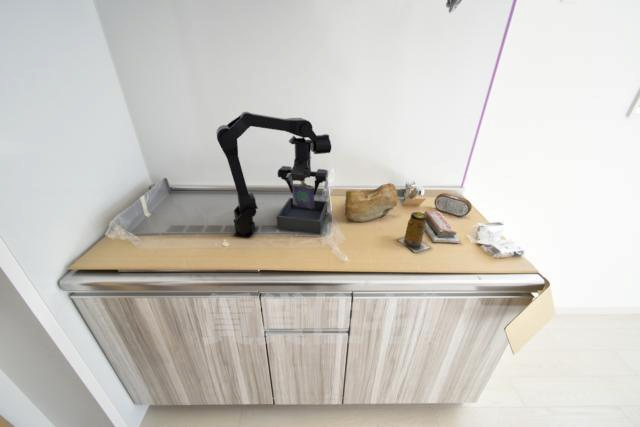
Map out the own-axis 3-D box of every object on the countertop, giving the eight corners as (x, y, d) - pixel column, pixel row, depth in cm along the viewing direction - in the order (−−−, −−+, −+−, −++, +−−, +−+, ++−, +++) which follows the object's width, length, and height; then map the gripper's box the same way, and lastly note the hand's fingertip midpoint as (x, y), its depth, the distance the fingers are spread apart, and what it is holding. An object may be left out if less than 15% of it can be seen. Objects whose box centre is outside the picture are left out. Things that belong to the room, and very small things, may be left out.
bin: (277, 228, 97) (276, 216, 94) (290, 208, 112) (289, 197, 109) (320, 234, 94) (320, 221, 91) (327, 212, 109) (327, 201, 106)
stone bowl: (382, 205, 118) (384, 175, 112) (399, 219, 104) (403, 186, 97) (336, 210, 114) (336, 180, 108) (347, 226, 100) (348, 192, 93)
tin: (468, 217, 108) (474, 200, 104) (466, 219, 106) (472, 202, 101) (433, 206, 116) (438, 190, 112) (431, 209, 114) (436, 192, 110)
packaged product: (420, 209, 103) (443, 209, 103) (417, 218, 106) (440, 219, 105) (436, 232, 88) (463, 233, 87) (432, 243, 90) (459, 244, 90)
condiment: (412, 236, 94) (419, 208, 88) (429, 248, 87) (438, 219, 81) (398, 240, 91) (404, 212, 85) (414, 253, 84) (422, 224, 78)
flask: (292, 205, 98) (290, 181, 93) (295, 202, 101) (293, 178, 95) (313, 209, 96) (312, 184, 90) (315, 205, 98) (315, 181, 93)
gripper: (270, 159, 83) (273, 200, 90) (323, 163, 80) (322, 205, 87) (281, 151, 92) (283, 188, 100) (329, 154, 89) (327, 193, 97)
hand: (303, 193), depth 96 cm, fingers closed on flask, 9 cm apart
